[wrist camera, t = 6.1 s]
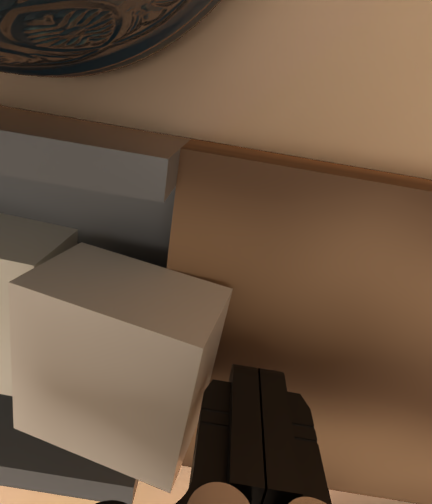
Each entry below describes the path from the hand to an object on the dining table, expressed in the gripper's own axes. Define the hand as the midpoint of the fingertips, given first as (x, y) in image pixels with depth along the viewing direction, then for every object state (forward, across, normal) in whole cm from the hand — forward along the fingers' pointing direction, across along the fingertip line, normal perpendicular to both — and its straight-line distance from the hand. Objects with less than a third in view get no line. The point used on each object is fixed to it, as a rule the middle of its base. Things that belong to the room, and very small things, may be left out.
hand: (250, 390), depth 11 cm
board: (+4, -4, 0) cm, 6 cm away
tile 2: (+2, +4, 0) cm, 4 cm away
